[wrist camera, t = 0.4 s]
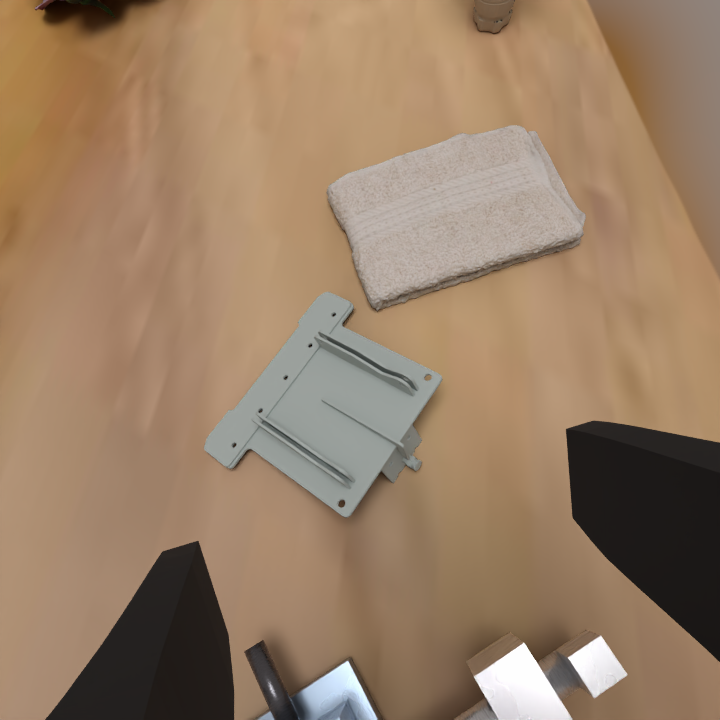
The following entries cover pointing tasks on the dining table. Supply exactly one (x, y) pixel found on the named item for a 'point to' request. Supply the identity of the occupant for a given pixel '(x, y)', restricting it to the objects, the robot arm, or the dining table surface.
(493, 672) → the notched block
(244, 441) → the metal bracket
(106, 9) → the flower
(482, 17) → the handle
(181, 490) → the dining table surface
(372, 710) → the vise
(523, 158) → the washcloth
